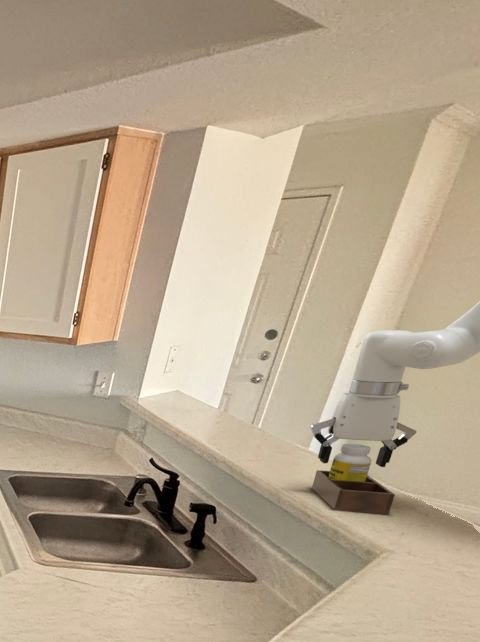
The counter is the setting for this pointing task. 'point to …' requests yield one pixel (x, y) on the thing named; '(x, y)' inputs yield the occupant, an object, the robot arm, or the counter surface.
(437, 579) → the counter surface
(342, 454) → the pill bottle
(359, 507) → the divided box
